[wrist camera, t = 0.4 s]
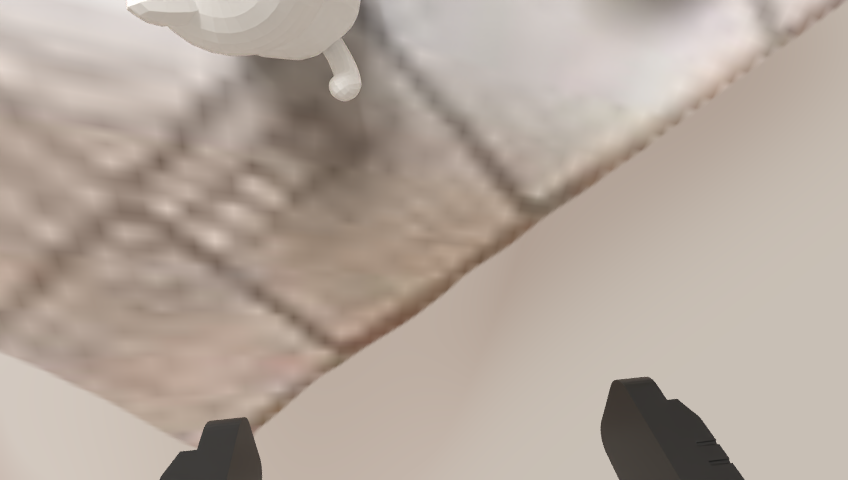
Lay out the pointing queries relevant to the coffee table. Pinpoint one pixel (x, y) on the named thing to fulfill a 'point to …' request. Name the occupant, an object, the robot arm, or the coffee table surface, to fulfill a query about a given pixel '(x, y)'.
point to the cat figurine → (265, 30)
